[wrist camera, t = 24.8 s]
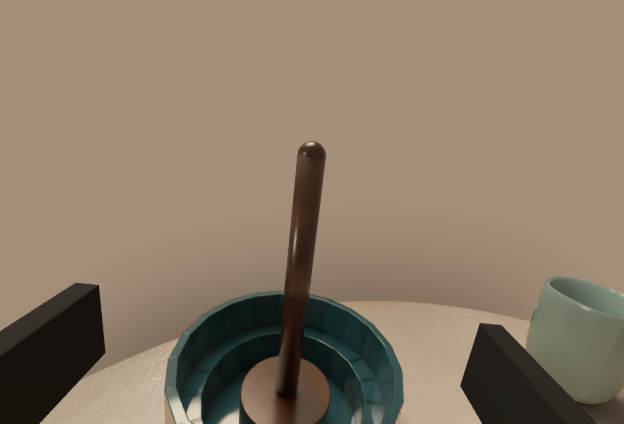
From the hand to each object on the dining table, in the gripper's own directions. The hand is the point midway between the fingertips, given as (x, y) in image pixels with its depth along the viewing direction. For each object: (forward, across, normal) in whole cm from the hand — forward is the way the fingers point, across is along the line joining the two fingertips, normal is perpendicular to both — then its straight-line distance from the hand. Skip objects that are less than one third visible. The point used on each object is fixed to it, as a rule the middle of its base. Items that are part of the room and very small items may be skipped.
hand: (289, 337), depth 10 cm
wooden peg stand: (+8, 0, -14) cm, 16 cm away
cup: (+15, +28, -15) cm, 35 cm away
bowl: (+8, 0, -15) cm, 17 cm away
